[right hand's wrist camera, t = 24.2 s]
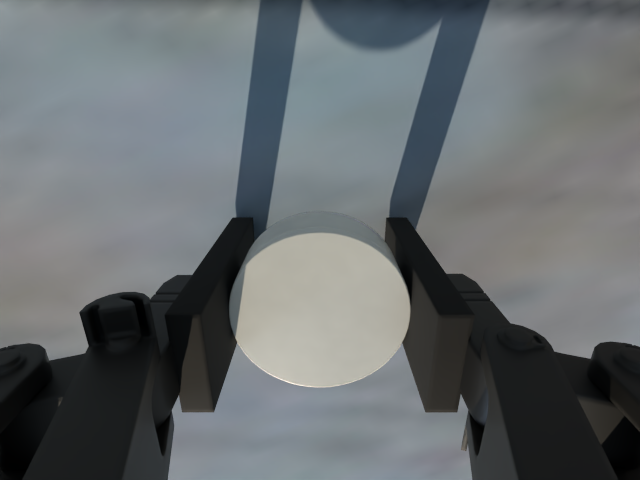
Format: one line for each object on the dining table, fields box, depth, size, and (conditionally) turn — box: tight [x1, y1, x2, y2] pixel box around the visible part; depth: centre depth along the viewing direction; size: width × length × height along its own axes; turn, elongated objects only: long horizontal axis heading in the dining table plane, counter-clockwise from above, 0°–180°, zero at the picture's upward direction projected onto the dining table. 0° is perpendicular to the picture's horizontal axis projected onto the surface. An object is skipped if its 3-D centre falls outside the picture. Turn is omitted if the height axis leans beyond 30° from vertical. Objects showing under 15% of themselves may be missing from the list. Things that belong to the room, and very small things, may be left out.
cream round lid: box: [229, 211, 411, 387], centre depth 11 cm, size 5×5×2 cm
